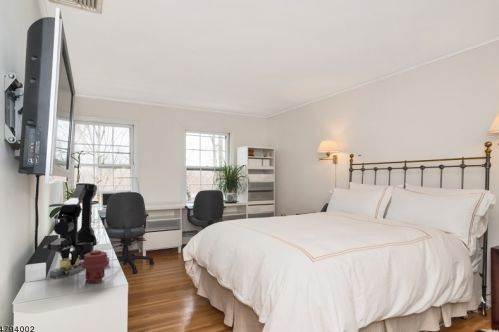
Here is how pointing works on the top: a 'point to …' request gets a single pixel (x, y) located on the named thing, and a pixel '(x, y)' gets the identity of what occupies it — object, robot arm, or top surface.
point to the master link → (68, 263)
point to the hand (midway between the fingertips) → (69, 264)
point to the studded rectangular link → (61, 272)
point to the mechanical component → (95, 265)
